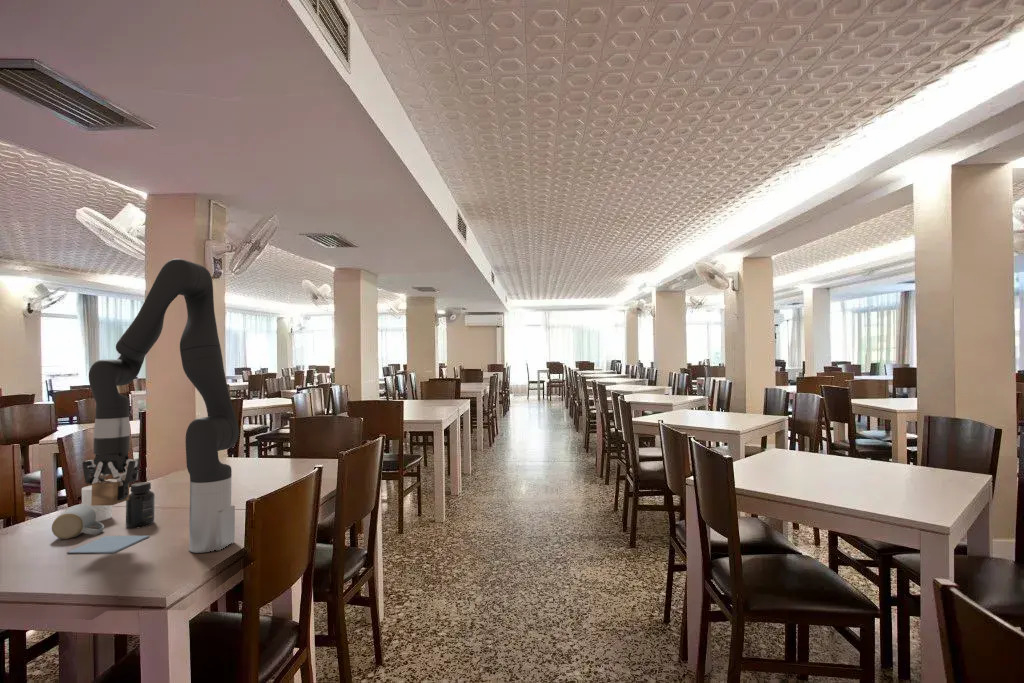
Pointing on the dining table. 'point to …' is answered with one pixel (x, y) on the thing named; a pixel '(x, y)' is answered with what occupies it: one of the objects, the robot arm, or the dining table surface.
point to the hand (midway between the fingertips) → (110, 499)
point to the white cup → (100, 510)
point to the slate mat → (108, 544)
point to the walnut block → (106, 493)
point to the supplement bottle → (140, 505)
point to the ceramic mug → (76, 522)
